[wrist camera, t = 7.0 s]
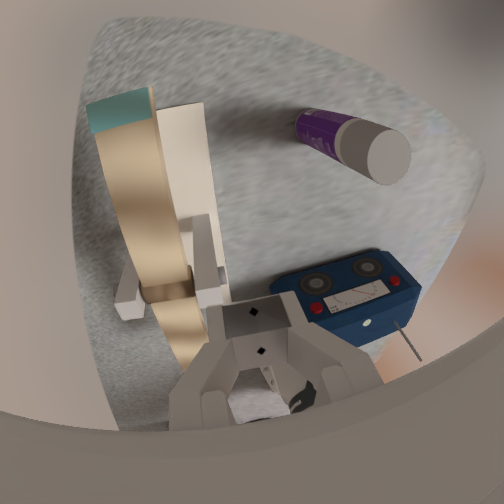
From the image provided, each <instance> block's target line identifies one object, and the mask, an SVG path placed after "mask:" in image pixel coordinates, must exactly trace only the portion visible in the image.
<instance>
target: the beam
mask: <svg viewBox="0 0 504 504" xmlns="http://www.w3.org/2000/svg"><path fill="white" fill-rule="evenodd" d="M86 110H87V116H88V121H89V126H90V131H91V135H92V134H95V138H96V143H97V147H98V152H99V156H100V160H101V164H102V168H103V172H104V175H105V179H106V183H107V186H108V190H109V193H110V197H111V200H112V203H113V206H114V210H115V213H116V216H117V219H118V222H119V225H120V228H121V231H122V234H123V237H124V239H125V242H126V245H127V248H128V250H129V253H130V256H131V258H132V261H133V264H134V266H135V269H136V271H137V274H138V276H139V279H140V281H141V290H142V295H143V298H144V300H145V302H146V303H147V304H151V307H152V309H153V311H154V313H155V315H156V318H157V320H158V322H159V324H160V326H161V328H162V330H163V332H164V334H165V336H166V338H167V340H168V342H169V344H170V346H171V348H172V350H173V352H174V354H175V356H176V358H177V360H178V362H179V364H180V365H181V367H182V369H183V371H184V372H185V371H186V369H187V368H188V366H189V365H190V363H191V362H192V360H193V359H194V358H195V356H196V355H197V353H198V352H199V350H200V349H201V347H202V346H203V344H204V343H207V342H209V337H208V332H207V329H206V326H205V323H204V319H203V316H202V313H201V309H200V306H199V303H198V299H197V296H196V292H195V280H194V275H193V271H192V267H191V265H188V262H187V259H186V255H185V251H184V247H183V243H182V239H181V235H180V230H179V226H178V222H177V218H176V213H175V209H174V204H173V200H172V195H171V190H170V186H169V181H168V176H167V171H166V166H165V160H164V155H163V149H162V144H161V138H160V132H159V126H158V120H157V113H156V107H155V100H154V92H153V87H145V88H141V89H137V90H133V91H130V92H126V93H122V94H119V95H115V96H112V97H109V98H106V99H102V100H99V101H96V102H93V103H91V104H88V105H86Z"/></svg>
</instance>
